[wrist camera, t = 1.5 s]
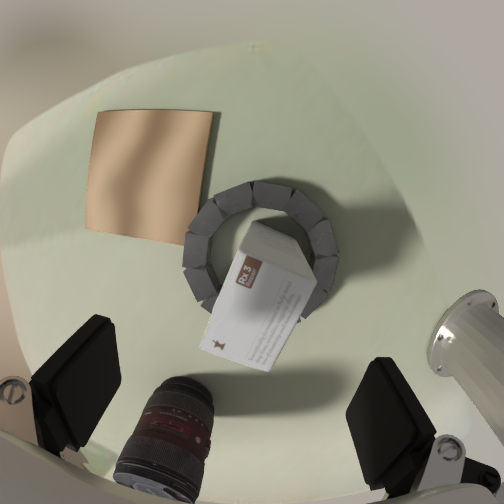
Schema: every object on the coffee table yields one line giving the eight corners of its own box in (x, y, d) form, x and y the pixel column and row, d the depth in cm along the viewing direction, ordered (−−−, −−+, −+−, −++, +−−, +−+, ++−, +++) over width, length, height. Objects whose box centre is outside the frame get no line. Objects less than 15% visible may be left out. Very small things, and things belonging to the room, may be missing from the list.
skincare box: (270, 294, 26) (273, 380, 14) (225, 277, 25) (195, 353, 14) (297, 234, 24) (327, 285, 12) (250, 215, 24) (236, 249, 12)
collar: (344, 197, 23) (351, 199, 21) (313, 328, 26) (316, 338, 24) (198, 173, 23) (192, 172, 21) (184, 308, 26) (179, 317, 24)
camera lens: (193, 363, 28) (153, 474, 14) (230, 407, 30) (215, 511, 15) (142, 379, 29) (93, 470, 15) (180, 420, 31) (151, 509, 17)
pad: (213, 114, 22) (212, 112, 21) (195, 245, 25) (193, 247, 24) (100, 113, 22) (97, 112, 21) (88, 227, 25) (85, 228, 24)
